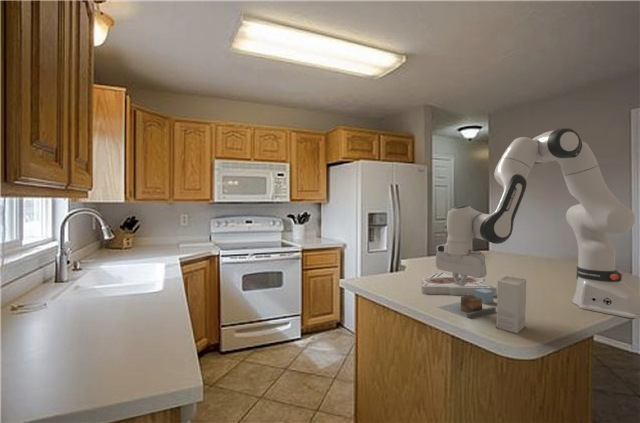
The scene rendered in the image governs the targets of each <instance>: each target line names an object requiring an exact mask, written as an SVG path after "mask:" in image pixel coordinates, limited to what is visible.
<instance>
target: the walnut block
mask: <svg viewBox="0 0 640 423" xmlns="http://www.w3.org/2000/svg"><path fill="white" fill-rule="evenodd" d="M460 302H461V311H464V312H467V313H470V312H474V311H478V310H482V308H483V303H482V298H479V297H475V296H474V295H462V296H461V297H460Z"/></svg>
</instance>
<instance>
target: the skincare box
mask: <svg viewBox="0 0 640 423" xmlns="http://www.w3.org/2000/svg"><path fill="white" fill-rule="evenodd" d="M526 299H527V279H525V278H519V277H514V276H504V277H502V278H500V279H499V280H497V296H496V329H498V330H503V331H507V332H510V333H514V334H518V333H519V332H520V331H522V330H523V329H524V328H525V327H526V301H527V300H526Z"/></svg>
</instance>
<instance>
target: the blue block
mask: <svg viewBox="0 0 640 423" xmlns="http://www.w3.org/2000/svg"><path fill="white" fill-rule="evenodd" d="M473 296H475V297H479V298H482V305H488V304H492V303H494V298H495V296H494V291H491V290H487V289H483V288H482V289H477V290H474V295H473Z"/></svg>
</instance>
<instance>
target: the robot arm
mask: <svg viewBox="0 0 640 423" xmlns="http://www.w3.org/2000/svg"><path fill="white" fill-rule="evenodd" d="M554 161H555V162H557V164H558V165H559V166H560V170H561V173H562V176H563V178H564V181H565V185H566V187H567V189H568V192H569V194H570V196H572V197H573V198H575V199H576V200H577V201H578V202H579V203H578V204H575V205H572V206H570V207H569V208H568V210H566V212H565V220H566V222H567V224H568V225H569V226H570V227H571V229H572V230H573V233H574V236H575V238H576V242H577V248H578V249H577V251H578V252H577V254H578V255H577V257H578V262H577V263H578V264H577V265H578V266H576V272H575V273H576V274H575V275H576V281H577V282H576V288H575V292H574V296H573V298H572V301H571V302H572V303H573V304H575V305H577V306H578V307H579V308H580V309H584V310H588V311H593V312H597V313H602V314H603V313H604V314H608V315H613V316H617V317H622V318H623V317H624V318H628V319H636V320H637V319H640V294H639V293H638V292H637V291H635V290H634V289H633V288H632V287H630V286H628V285H627V284H626V283H625V282H624V281H622V279H623V278H622V277H623V276H624V272H619V270H617V269H616V257H617V255H616V254H617V250H616V248H615V247H614V245H613V244H612V243H611V242H610V241H609V239H608V236H607V234H609V235H612V234H613V235H614V234H621V233H626V232H628V231H629V230H631V229H632V228H633V226H634V224H635V220H636V218H635V215H634V211H632V209H630V207H627V206H626V205H624V204H623V203H622V202H621V201H619V199H618V198H616V196H615V195H614V193H612V191H611V190H610V189H609V187H608V185H607V184H606V181H605V179H604V177H603V174H602V171H601V169H600V166H599V163H598V160H597V157H596V156H595V154H594V152H593V151H592V149H591V148H590V146H589V143H586V142H585V141H583V140H582V139H581V137H580V135H579V134H578V133H577V131H576V130H574V129H572V128H568V127H563V128H561V127H560V128H557V129H555V130H549V131H546V132H542V133H541V134H539V135H537V136H533V137H527V136H520V137H517V138H515V139H514V140H513V141H512V142H511V143H510V144H509V145H508V146H507V148H506V149H505V151H504V152H503V154H502V156H501V157H500V159H499V161H498V163H497V164H496V167H495V170H494V172H493V174H494V176H493V177H494V179H495V181H496V182H497V183H498V184H499V185H500V186H501V187H503V192H502V195H501V198H500V200H499V203H498V205H497V207H496V209H495V211H493V212H492V213H490V214H489V213H484V212H481V211H478V210H476V209H474V208H472V207H471V206H470V205H469V204H461V205H459V204H458V205H454V206H452V207H450V208H449V209H448V211H447V217H446V232H447V237H446V243H442V244H440V245H437V246H436V247H435V250H436V254H435V267H436V269H438V270H440V271H443V272H445V271H446V272H447V273H449V272H450V273H451V274H452V275H453V277H454V279H455V284H456V285H459V286H464V285H465V280H466V279H467V277H476V278H485V277H486V276H487V264H486V255H484V254H483V252H481V251H478V250H474V249H473V239H474V238H475V239H479V240H481V241H482V240H483V241H486V242H489V243H491V244H494V245H495V244H496V245H497V244H498V245H499V244H503V243H505V242H507V241H508V240H509V238H510V237H511V236H512V234H513V228H514V224H515V223H514V221H515V218H516V215H517V212H518V210H519V207H520V205H521V203H522V200H523V198H524V195H525V192H526V189H527V179H528V176H529V174H530V173H531V171H532V169H533V166H534V164H542V163H550V162H554ZM459 276H461V277H462V278H461V280H460V279H459Z"/></svg>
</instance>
